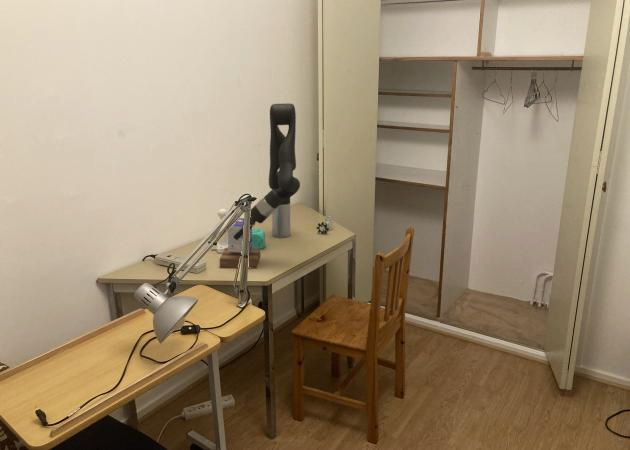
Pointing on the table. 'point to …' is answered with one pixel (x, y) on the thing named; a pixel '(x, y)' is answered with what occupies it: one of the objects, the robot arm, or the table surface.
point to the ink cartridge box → (237, 244)
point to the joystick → (223, 240)
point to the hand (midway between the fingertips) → (236, 236)
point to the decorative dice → (258, 238)
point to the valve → (325, 225)
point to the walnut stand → (232, 258)
